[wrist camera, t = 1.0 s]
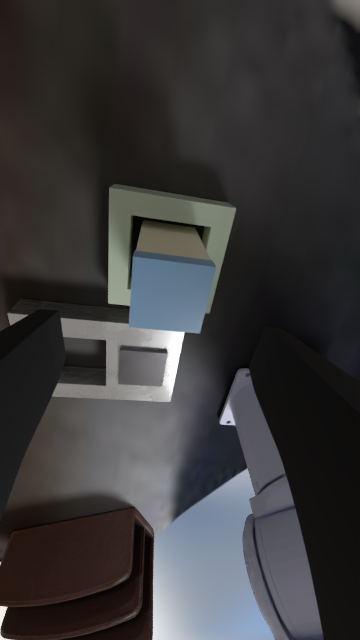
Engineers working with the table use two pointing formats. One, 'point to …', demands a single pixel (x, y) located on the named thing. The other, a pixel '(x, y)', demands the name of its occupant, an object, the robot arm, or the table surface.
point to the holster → (162, 207)
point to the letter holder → (80, 579)
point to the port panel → (113, 353)
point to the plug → (170, 279)
